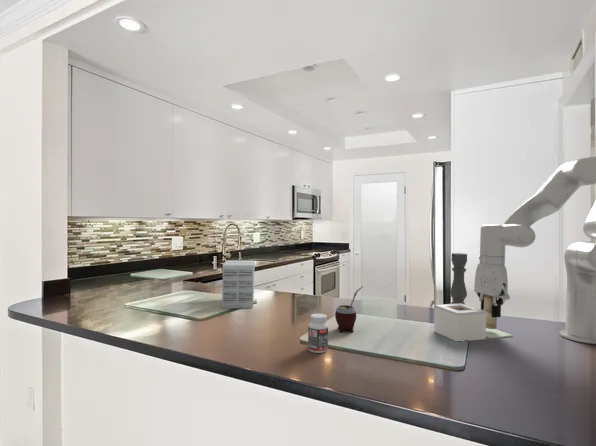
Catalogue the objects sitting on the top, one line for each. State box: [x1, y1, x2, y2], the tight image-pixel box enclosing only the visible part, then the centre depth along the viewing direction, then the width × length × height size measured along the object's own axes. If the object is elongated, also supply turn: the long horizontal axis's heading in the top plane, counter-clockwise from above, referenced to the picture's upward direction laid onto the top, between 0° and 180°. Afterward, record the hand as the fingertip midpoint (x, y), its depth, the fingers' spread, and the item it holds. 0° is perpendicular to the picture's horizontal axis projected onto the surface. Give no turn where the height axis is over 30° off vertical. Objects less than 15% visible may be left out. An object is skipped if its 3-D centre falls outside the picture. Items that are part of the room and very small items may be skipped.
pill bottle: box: [307, 313, 329, 354], centre depth 105 cm, size 6×6×10 cm
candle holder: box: [449, 252, 468, 305], centre depth 143 cm, size 6×6×25 cm
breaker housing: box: [433, 303, 487, 342], centre depth 120 cm, size 11×11×9 cm
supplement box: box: [221, 259, 255, 309], centre depth 160 cm, size 17×13×18 cm
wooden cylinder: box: [484, 294, 498, 329], centre depth 123 cm, size 4×4×11 cm
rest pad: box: [486, 328, 513, 339], centre depth 123 cm, size 9×9×1 cm
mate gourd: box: [334, 286, 364, 334], centre depth 124 cm, size 8×8×15 cm
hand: (490, 314), depth 123 cm, fingers closed on wooden cylinder, 4 cm apart
